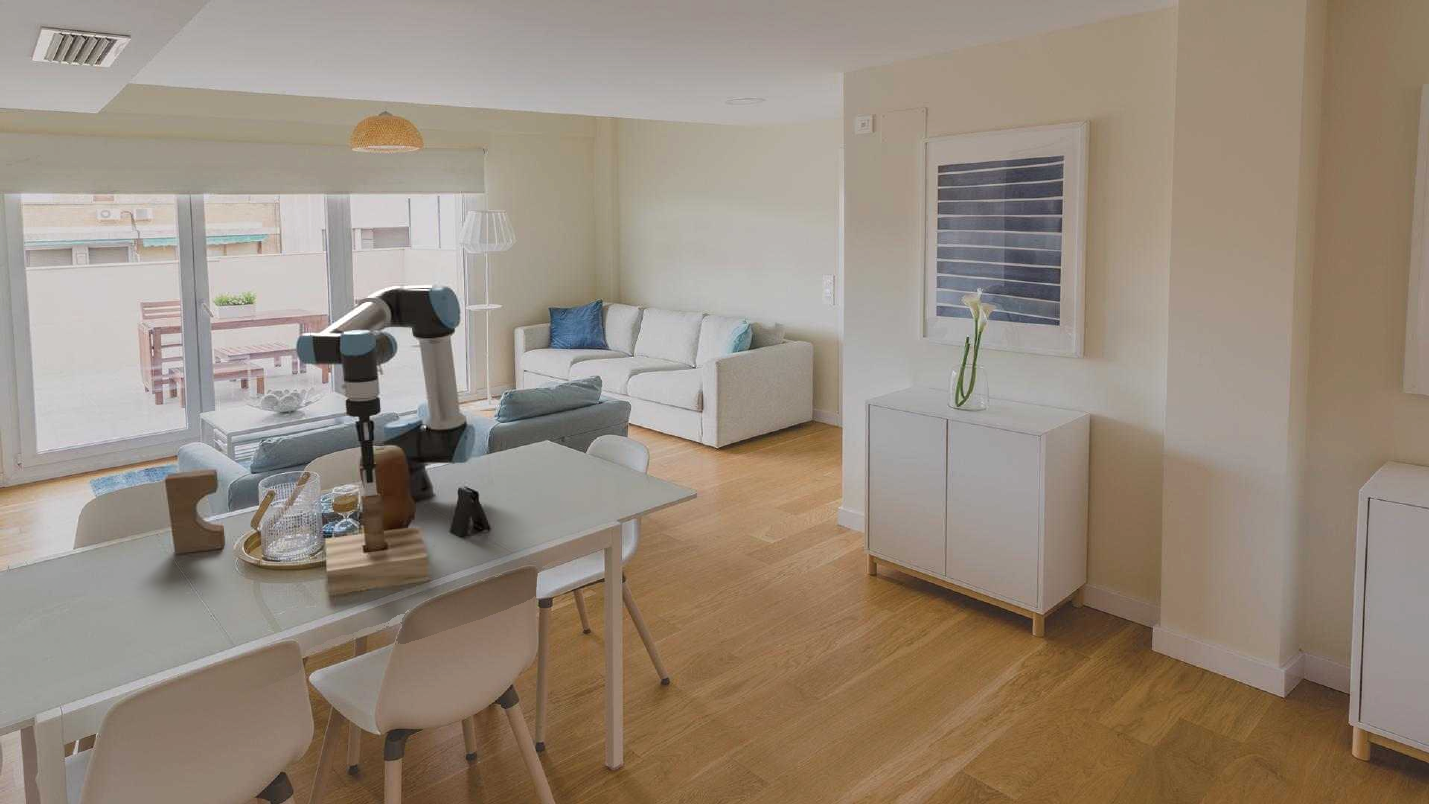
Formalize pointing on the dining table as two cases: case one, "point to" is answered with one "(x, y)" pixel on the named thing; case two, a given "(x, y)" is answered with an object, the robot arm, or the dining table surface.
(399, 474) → the butternut squash
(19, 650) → the dining table surface
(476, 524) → the black a-frame stand
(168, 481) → the decorative block
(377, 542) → the leg
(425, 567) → the seat block
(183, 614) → the dining table surface
